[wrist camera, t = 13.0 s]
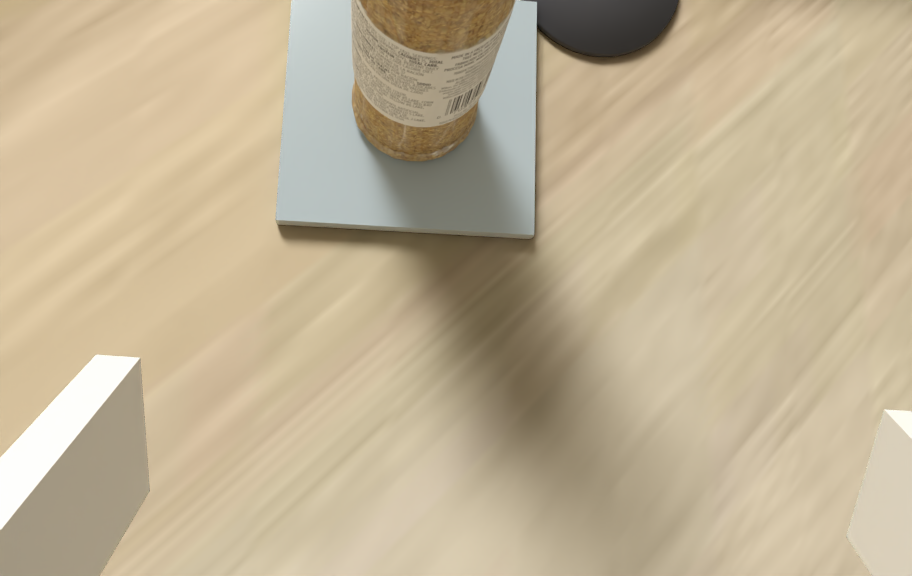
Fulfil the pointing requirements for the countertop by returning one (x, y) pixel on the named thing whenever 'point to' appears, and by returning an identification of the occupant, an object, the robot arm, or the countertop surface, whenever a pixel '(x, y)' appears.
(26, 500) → the robot arm
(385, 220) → the coaster
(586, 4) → the dark grey round disc
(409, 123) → the spice jar
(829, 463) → the countertop surface
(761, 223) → the countertop surface
